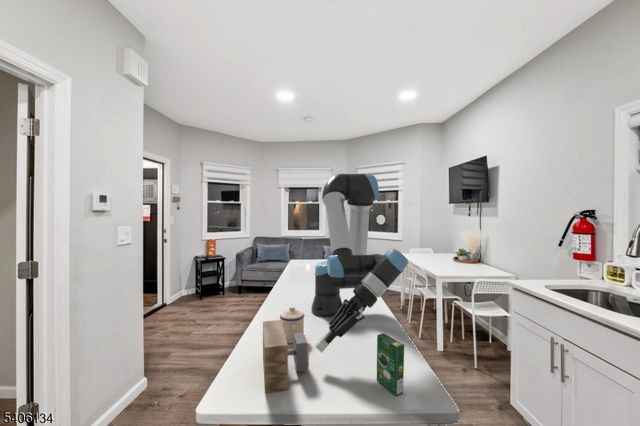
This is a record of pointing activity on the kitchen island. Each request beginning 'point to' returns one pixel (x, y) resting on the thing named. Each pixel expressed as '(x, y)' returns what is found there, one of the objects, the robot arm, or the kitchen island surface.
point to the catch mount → (275, 356)
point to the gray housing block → (300, 352)
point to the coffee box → (390, 363)
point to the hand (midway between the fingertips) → (318, 348)
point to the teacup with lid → (292, 323)
